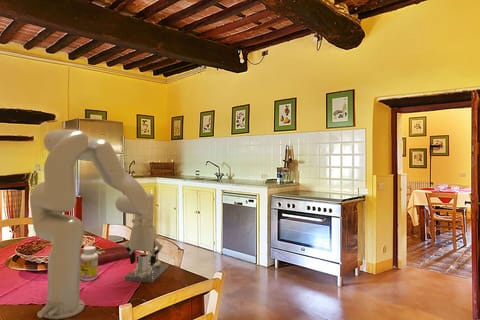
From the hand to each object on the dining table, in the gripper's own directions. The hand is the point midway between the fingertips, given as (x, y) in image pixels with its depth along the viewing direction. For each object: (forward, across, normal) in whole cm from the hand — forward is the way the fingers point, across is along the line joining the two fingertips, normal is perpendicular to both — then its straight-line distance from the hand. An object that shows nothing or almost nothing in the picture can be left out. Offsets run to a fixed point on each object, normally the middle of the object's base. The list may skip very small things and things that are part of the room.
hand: (142, 263), depth 142 cm
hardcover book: (+7, -27, +20) cm, 34 cm away
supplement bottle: (+6, -21, -6) cm, 23 cm away
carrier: (+6, 0, +6) cm, 8 cm away
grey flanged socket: (+5, 0, 0) cm, 5 cm away
